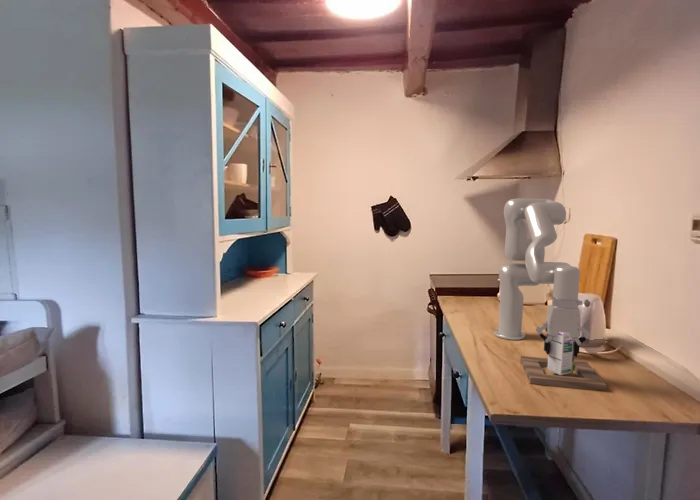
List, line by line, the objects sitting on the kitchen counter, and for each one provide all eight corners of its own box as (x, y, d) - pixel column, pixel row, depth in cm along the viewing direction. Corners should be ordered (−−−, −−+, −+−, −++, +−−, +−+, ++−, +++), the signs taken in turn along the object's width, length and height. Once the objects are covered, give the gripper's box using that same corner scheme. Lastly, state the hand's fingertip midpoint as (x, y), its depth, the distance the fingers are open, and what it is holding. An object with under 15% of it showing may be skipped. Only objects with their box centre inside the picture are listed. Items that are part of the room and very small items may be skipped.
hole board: (520, 361, 159) (520, 355, 159) (586, 367, 155) (586, 361, 154) (530, 383, 140) (530, 377, 140) (605, 391, 135) (606, 384, 135)
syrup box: (560, 375, 143) (564, 332, 142) (546, 369, 149) (549, 327, 147) (573, 373, 146) (576, 331, 144) (558, 366, 151) (561, 326, 149)
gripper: (590, 302, 146) (585, 352, 148) (534, 298, 150) (531, 348, 152) (597, 307, 139) (592, 360, 141) (538, 304, 143) (535, 355, 145)
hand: (560, 354), depth 147 cm, fingers closed on syrup box, 8 cm apart
